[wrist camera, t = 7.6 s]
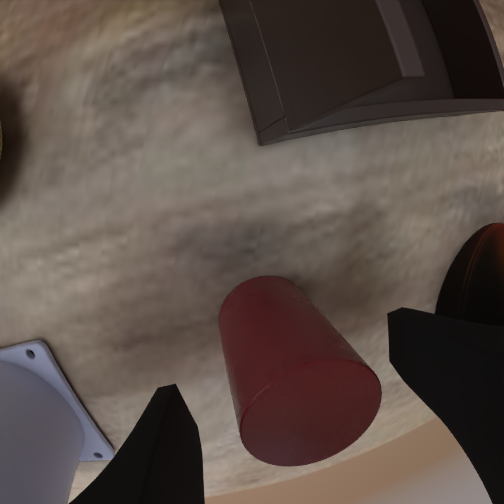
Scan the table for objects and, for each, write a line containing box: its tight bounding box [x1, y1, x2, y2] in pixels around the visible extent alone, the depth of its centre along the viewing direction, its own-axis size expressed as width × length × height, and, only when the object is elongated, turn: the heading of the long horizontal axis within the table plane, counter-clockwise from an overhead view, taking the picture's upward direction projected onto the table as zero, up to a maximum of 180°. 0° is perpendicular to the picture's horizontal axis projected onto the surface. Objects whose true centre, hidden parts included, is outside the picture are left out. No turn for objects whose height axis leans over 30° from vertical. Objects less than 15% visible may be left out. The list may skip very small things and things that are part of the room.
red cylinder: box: [218, 276, 382, 466], centre depth 11 cm, size 4×4×6 cm
